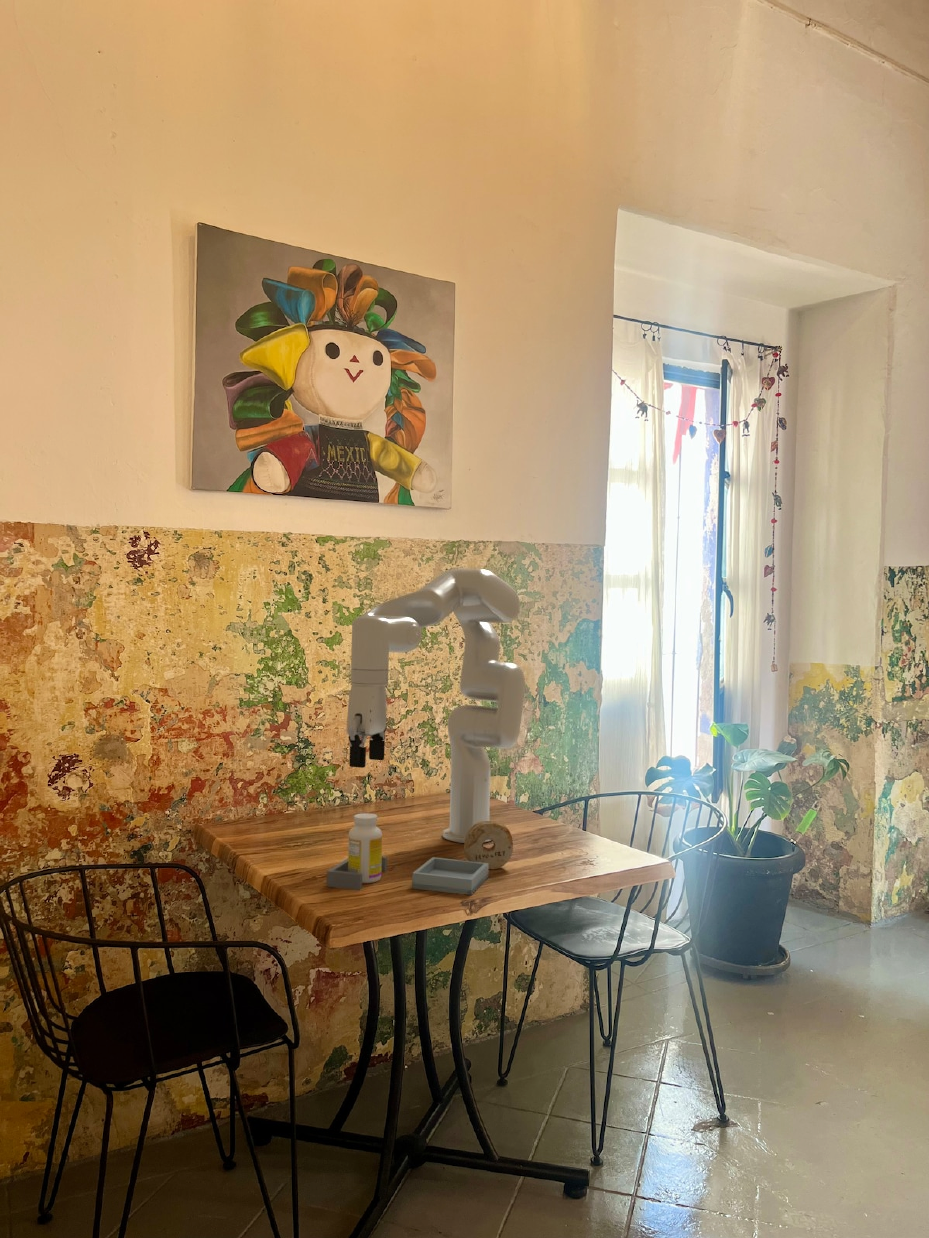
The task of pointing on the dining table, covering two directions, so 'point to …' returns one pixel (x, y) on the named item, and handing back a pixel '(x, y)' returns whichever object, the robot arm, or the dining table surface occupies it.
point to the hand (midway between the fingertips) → (367, 763)
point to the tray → (450, 875)
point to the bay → (348, 876)
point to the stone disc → (495, 854)
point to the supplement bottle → (365, 848)
